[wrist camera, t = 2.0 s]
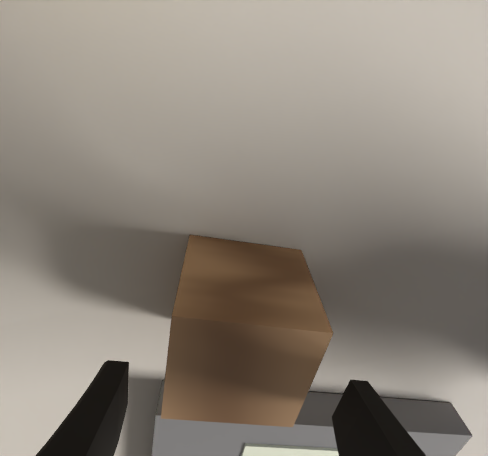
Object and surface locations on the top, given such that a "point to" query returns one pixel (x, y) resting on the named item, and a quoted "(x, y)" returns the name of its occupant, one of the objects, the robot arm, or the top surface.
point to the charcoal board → (306, 431)
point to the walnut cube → (243, 335)
